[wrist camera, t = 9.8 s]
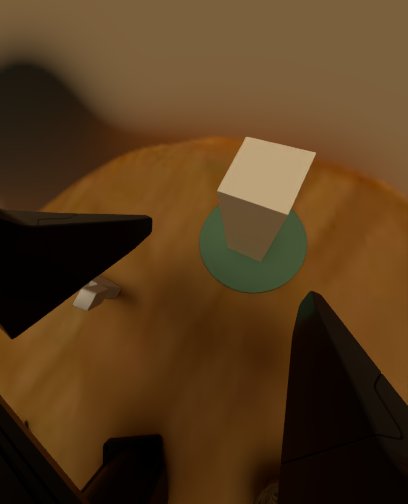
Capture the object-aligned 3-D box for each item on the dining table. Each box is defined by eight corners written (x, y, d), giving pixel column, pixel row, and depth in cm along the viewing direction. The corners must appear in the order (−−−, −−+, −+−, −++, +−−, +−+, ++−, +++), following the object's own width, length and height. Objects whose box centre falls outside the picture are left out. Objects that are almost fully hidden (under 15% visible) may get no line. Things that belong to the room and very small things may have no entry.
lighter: (93, 287, 25) (29, 280, 17) (99, 275, 25) (39, 264, 17) (133, 308, 23) (81, 312, 15) (139, 296, 23) (91, 293, 16)
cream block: (260, 262, 21) (288, 214, 10) (227, 247, 22) (217, 190, 11) (275, 230, 22) (316, 152, 10) (242, 218, 23) (246, 136, 12)
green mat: (209, 301, 21) (208, 301, 21) (193, 208, 25) (192, 207, 25) (322, 281, 20) (323, 280, 19) (286, 185, 24) (287, 183, 23)
